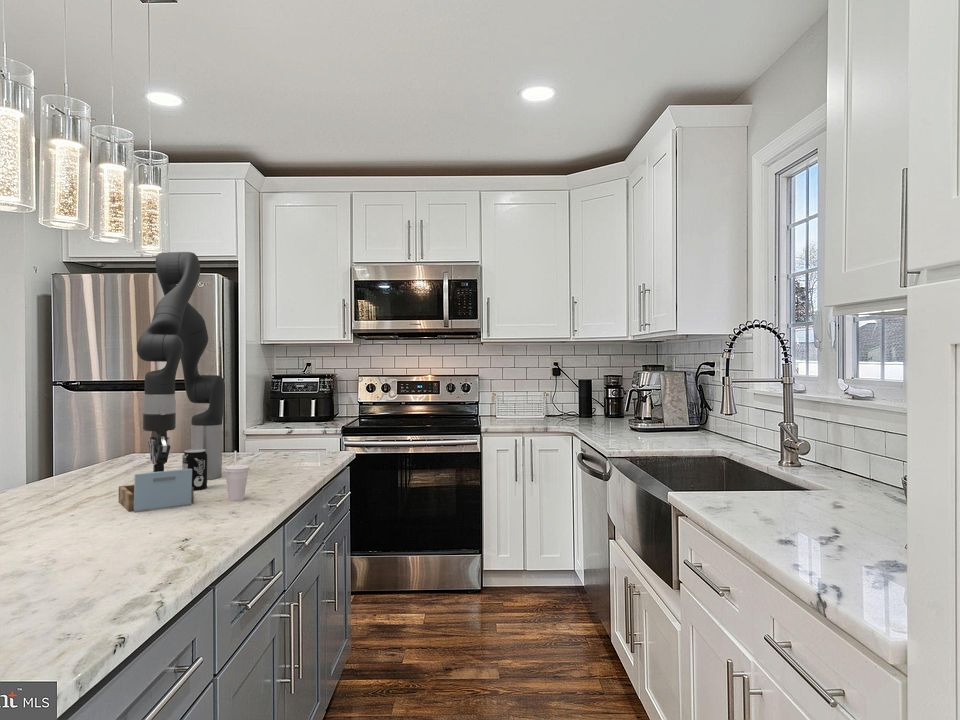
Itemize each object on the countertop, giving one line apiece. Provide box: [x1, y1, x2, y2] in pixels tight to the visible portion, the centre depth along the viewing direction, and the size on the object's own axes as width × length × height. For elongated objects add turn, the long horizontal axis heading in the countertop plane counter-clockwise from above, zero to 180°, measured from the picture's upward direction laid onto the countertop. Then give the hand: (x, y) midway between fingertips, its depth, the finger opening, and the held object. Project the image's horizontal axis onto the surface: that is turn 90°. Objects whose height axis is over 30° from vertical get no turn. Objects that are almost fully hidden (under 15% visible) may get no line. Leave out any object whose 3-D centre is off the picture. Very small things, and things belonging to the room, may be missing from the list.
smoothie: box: [223, 450, 250, 502], centre depth 168 cm, size 6×6×14 cm
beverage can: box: [181, 448, 208, 492], centre depth 181 cm, size 7×7×12 cm
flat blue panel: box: [133, 468, 192, 513], centre depth 157 cm, size 1×13×10 cm, turn 130°
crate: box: [118, 484, 195, 513], centre depth 163 cm, size 13×15×5 cm
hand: (158, 478), depth 161 cm, fingers closed
